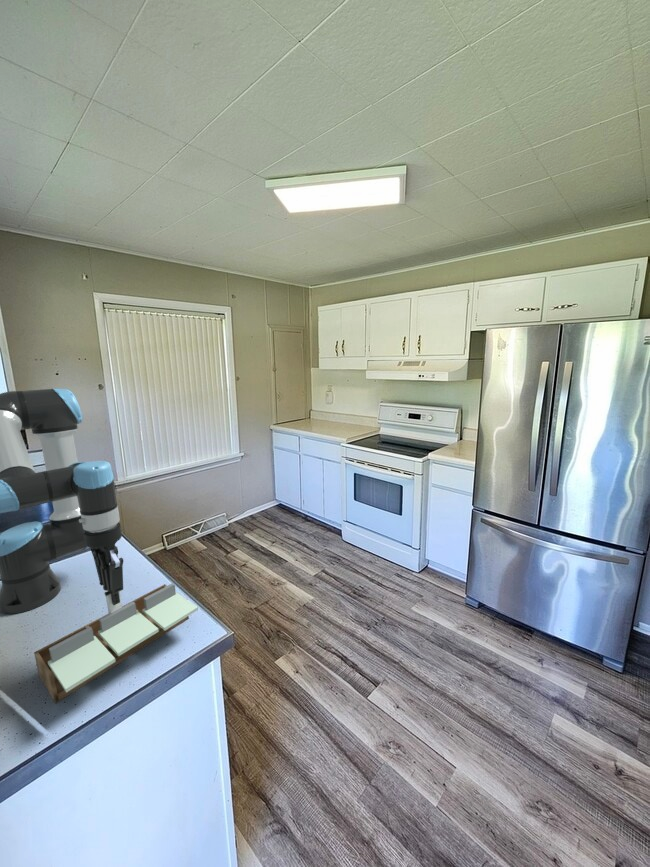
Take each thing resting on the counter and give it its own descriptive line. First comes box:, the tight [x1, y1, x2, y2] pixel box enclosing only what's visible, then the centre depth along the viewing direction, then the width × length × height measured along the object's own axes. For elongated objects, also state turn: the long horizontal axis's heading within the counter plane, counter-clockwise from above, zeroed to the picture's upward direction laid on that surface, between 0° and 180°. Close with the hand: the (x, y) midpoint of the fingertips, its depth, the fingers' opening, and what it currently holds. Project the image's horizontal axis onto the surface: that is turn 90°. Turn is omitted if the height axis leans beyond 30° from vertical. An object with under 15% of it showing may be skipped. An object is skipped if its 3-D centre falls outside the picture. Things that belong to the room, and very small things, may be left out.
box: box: [33, 584, 190, 704], centre depth 90 cm, size 12×31×7 cm, turn 142°
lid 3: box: [142, 582, 199, 631], centre depth 92 cm, size 11×9×4 cm
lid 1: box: [48, 627, 116, 692], centre depth 77 cm, size 11×9×4 cm
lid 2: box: [98, 601, 159, 656], centre depth 85 cm, size 11×9×4 cm
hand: (115, 613), depth 89 cm, fingers closed
